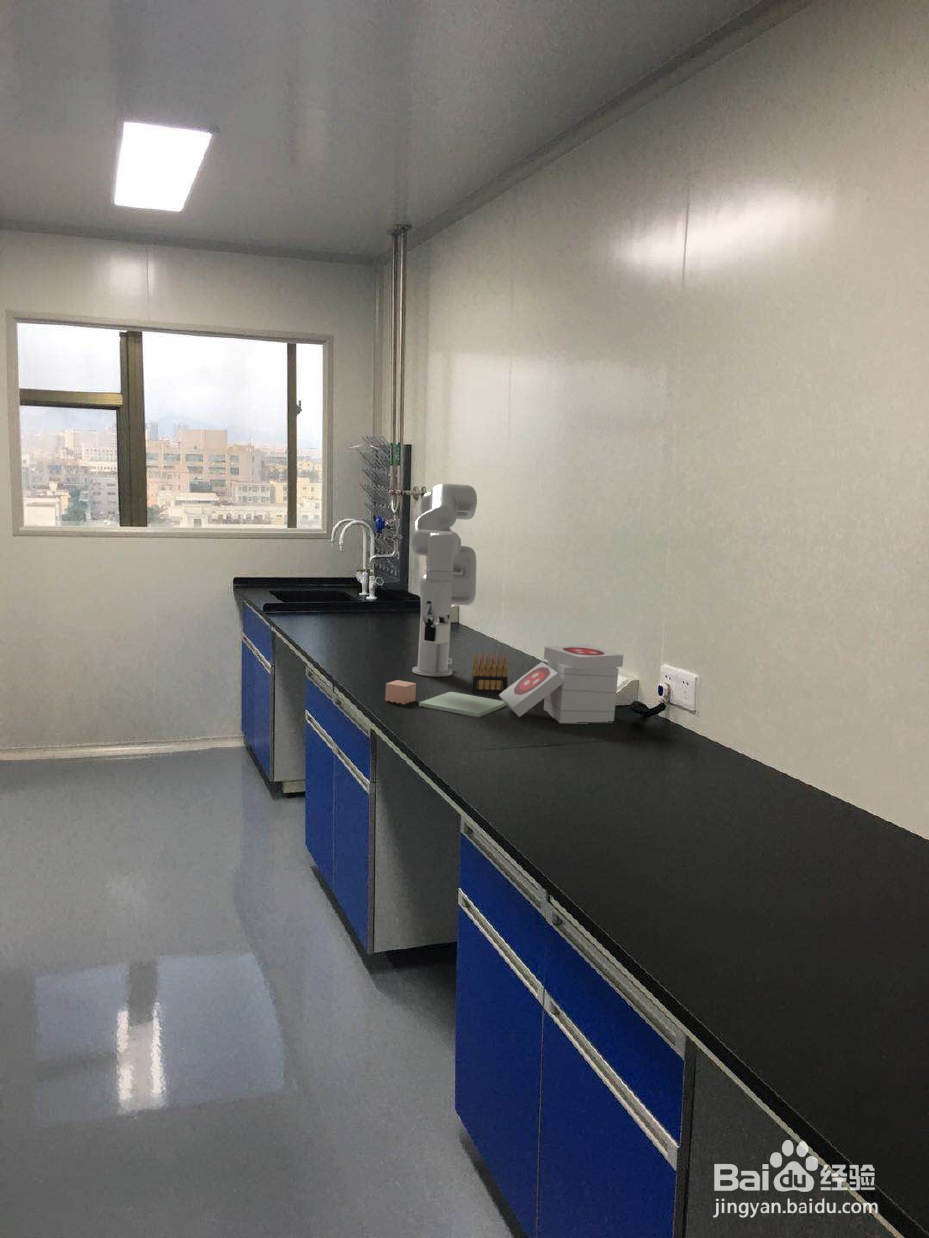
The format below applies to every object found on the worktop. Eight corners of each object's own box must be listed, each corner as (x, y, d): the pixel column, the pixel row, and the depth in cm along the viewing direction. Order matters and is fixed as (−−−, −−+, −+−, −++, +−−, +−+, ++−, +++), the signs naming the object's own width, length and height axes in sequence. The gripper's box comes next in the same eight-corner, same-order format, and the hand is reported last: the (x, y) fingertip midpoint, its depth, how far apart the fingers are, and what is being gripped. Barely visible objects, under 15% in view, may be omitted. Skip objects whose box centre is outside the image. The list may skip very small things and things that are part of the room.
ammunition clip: (505, 692, 289) (508, 652, 288) (507, 694, 288) (510, 653, 286) (470, 691, 287) (473, 651, 286) (471, 693, 285) (474, 652, 284)
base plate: (450, 695, 281) (450, 691, 281) (507, 705, 273) (507, 701, 273) (418, 705, 265) (419, 702, 265) (478, 717, 257) (479, 713, 257)
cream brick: (431, 638, 285) (432, 621, 284) (449, 641, 282) (450, 624, 282) (420, 641, 280) (421, 623, 279) (439, 644, 277) (440, 626, 276)
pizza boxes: (496, 707, 270) (500, 642, 267) (599, 708, 276) (605, 645, 274) (513, 724, 251) (519, 655, 249) (624, 726, 258) (630, 658, 255)
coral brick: (396, 697, 274) (397, 679, 273) (415, 701, 271) (416, 683, 270) (385, 701, 268) (386, 683, 268) (404, 704, 266) (405, 686, 265)
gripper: (442, 573, 288) (438, 634, 290) (412, 577, 273) (408, 641, 275) (464, 576, 284) (460, 637, 287) (436, 580, 269) (432, 644, 272)
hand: (435, 638), depth 281 cm, fingers closed on cream brick, 6 cm apart
